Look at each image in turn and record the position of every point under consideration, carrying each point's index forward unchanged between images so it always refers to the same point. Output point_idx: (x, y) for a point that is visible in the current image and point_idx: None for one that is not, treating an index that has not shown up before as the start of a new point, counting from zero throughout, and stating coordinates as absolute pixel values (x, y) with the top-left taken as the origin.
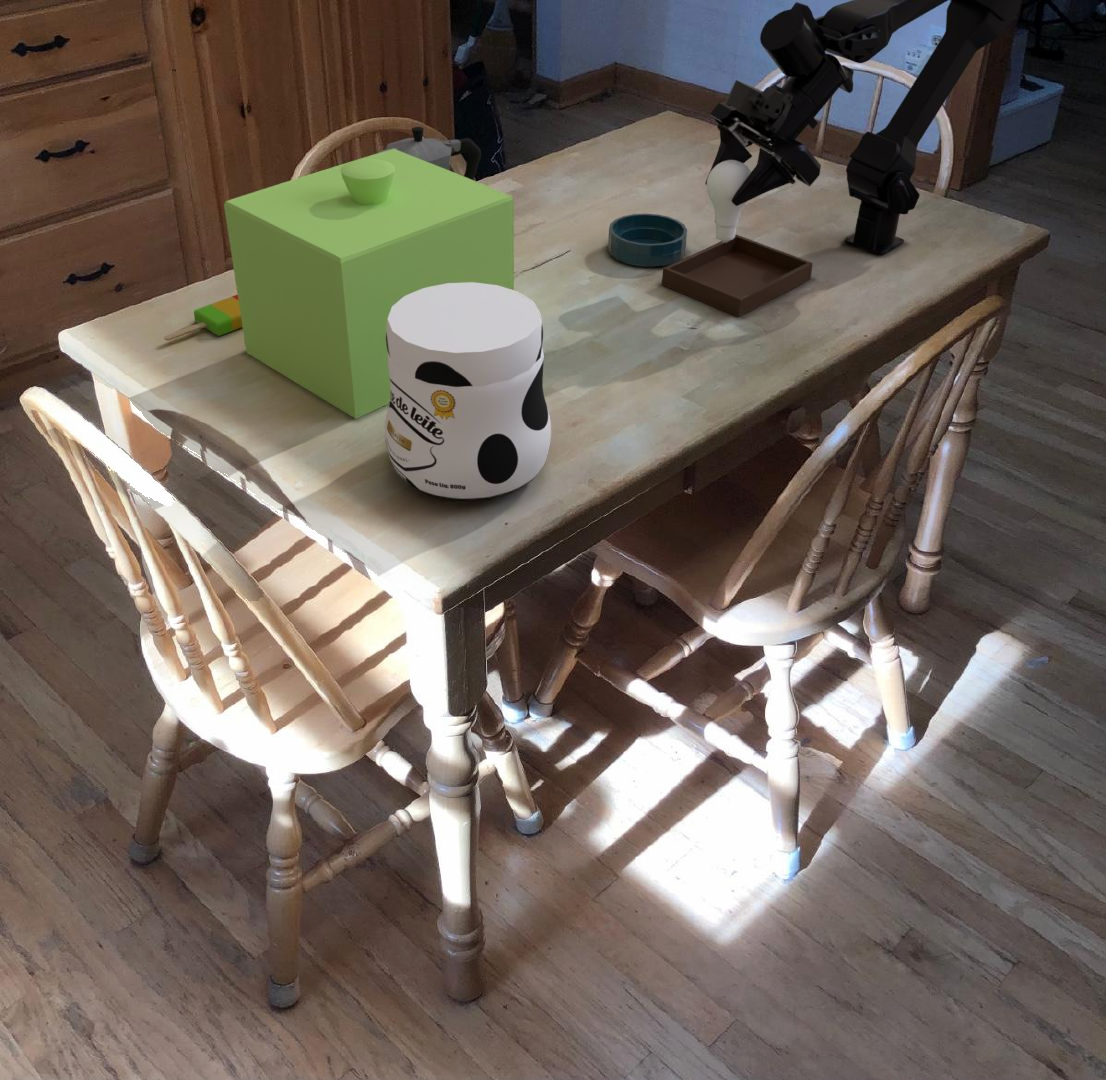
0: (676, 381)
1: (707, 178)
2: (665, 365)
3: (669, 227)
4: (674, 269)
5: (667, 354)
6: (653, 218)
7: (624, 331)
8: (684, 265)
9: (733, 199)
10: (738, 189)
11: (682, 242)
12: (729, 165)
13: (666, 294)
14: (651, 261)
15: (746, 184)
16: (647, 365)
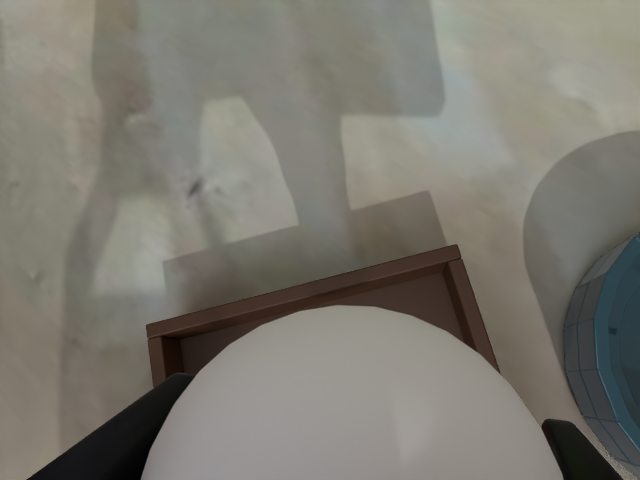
0: (46, 37)
1: (587, 446)
2: (104, 49)
3: None
4: (455, 293)
5: (136, 75)
6: None
7: (273, 45)
8: (471, 347)
9: (173, 377)
10: (150, 431)
11: (615, 429)
12: (273, 474)
13: (390, 237)
14: (580, 291)
15: (56, 473)
16: (127, 19)
